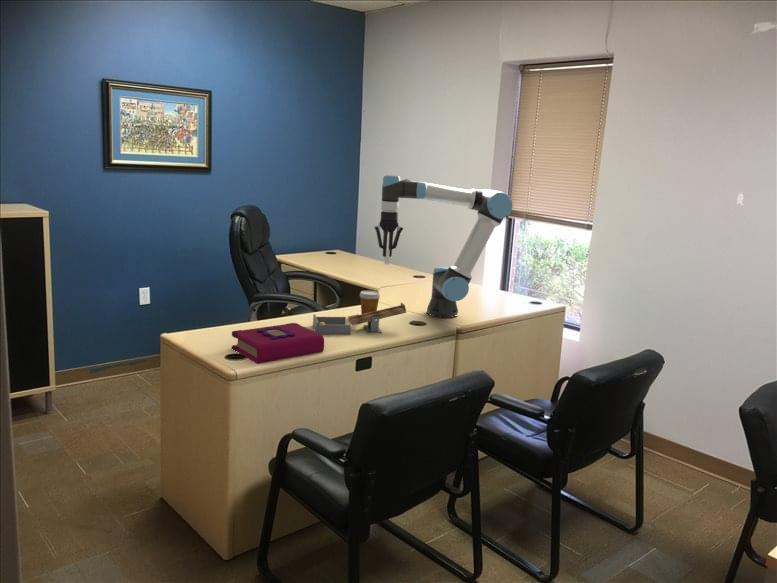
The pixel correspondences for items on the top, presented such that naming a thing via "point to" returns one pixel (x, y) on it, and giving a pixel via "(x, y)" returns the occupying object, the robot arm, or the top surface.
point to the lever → (377, 314)
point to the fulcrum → (373, 325)
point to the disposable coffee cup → (369, 301)
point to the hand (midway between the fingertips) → (386, 263)
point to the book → (277, 342)
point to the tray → (331, 325)
